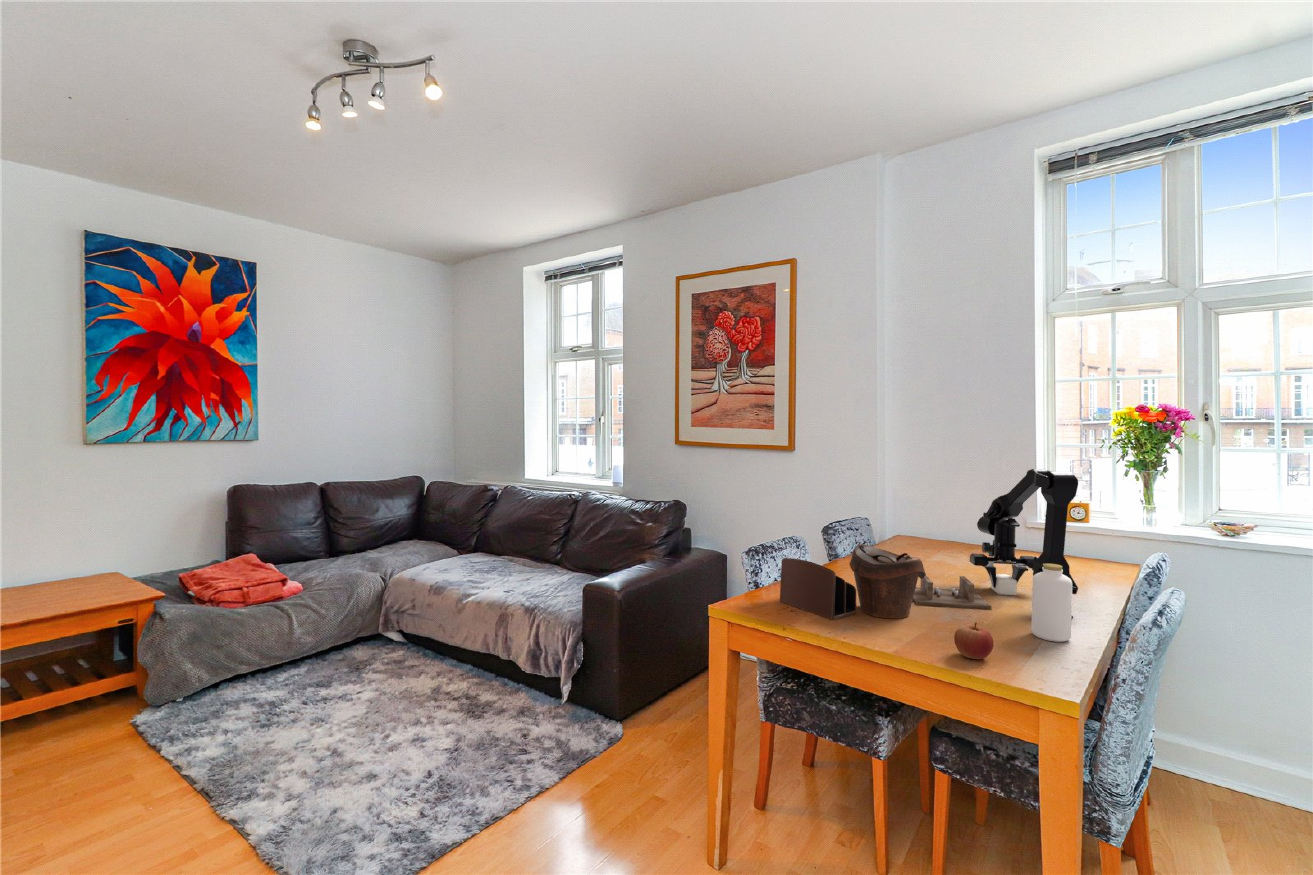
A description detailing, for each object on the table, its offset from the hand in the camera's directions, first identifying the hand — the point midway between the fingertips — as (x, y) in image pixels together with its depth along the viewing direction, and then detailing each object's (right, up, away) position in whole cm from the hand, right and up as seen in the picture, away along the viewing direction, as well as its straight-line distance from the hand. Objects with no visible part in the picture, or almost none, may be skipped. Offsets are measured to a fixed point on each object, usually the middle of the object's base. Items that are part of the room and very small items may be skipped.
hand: (1003, 588), depth 193 cm
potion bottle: (-11, -2, -41) cm, 42 cm away
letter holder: (-63, -2, -18) cm, 66 cm away
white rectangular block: (0, -1, 0) cm, 1 cm away
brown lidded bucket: (-45, -2, -21) cm, 50 cm away
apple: (-37, -3, -54) cm, 65 cm away
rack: (-22, -1, -9) cm, 24 cm away
